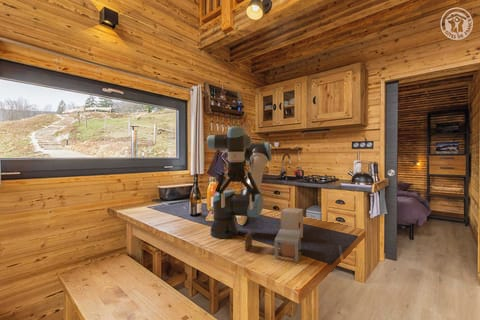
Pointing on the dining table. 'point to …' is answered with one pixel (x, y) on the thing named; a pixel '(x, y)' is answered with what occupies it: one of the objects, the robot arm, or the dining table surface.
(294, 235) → the tunnel
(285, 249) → the block
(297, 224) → the supplement box
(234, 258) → the dining table surface
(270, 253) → the sled
